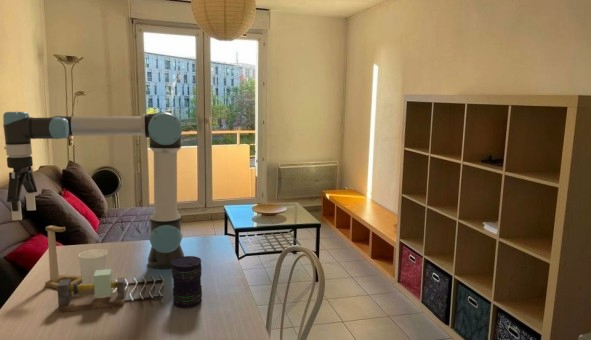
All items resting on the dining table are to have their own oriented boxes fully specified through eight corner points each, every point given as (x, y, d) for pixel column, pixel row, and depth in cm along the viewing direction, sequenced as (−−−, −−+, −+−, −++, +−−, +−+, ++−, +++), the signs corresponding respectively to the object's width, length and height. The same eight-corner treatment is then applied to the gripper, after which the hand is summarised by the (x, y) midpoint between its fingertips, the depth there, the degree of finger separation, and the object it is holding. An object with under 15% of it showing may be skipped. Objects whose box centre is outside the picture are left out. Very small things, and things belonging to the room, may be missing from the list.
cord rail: (125, 295, 151) (124, 272, 150) (123, 305, 143) (122, 281, 142) (63, 301, 145) (61, 278, 144) (57, 312, 138) (56, 287, 136)
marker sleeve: (112, 288, 148) (111, 268, 147) (110, 295, 143) (109, 274, 142) (97, 290, 146) (96, 270, 145) (94, 296, 142) (93, 275, 141)
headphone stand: (66, 291, 153) (62, 232, 150) (40, 287, 155) (36, 230, 152) (86, 279, 163) (83, 224, 160) (61, 276, 166) (58, 222, 162)
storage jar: (168, 300, 148) (167, 259, 145) (194, 293, 154) (194, 254, 151) (179, 311, 140) (178, 268, 138) (206, 303, 146) (206, 262, 143)
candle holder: (80, 291, 153) (78, 259, 151) (80, 281, 162) (78, 251, 160) (109, 286, 158) (108, 255, 156) (108, 276, 166) (106, 247, 164)
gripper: (21, 152, 159) (25, 206, 162) (-9, 161, 135) (-3, 225, 138) (43, 151, 161) (47, 206, 164) (17, 160, 137) (23, 223, 140)
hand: (24, 214), depth 151 cm, fingers open, 13 cm apart
